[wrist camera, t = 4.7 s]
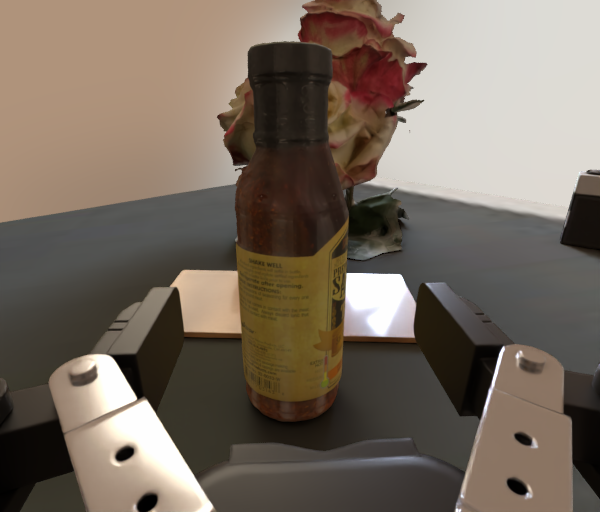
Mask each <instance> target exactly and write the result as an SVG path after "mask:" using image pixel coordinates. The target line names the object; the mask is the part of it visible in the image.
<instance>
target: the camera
mask: <svg viewBox="0 0 600 512" xmlns="http://www.w3.org/2000/svg"><path fill="white" fill-rule="evenodd" d="M560 243H563V244H569V245H575V246H581V247H587V248H593V249H599V250H600V170H588V171H587V172H583V171H581V172H579V175H578V178H577V181H576V185H575V188H574V192H573V195H572V199H571V203H570V206H569V209H568V213H567V216H566V220H565V223H564V227H563V230H562V233H561V237H560Z"/></svg>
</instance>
